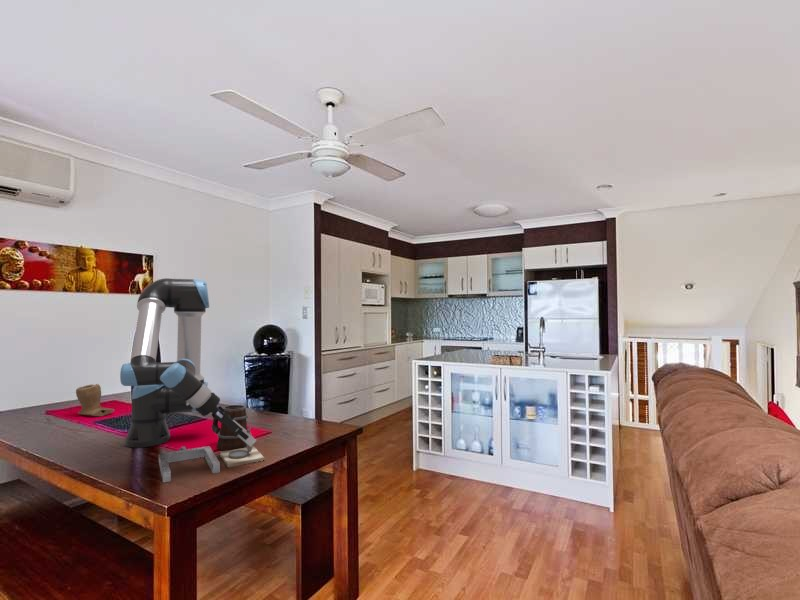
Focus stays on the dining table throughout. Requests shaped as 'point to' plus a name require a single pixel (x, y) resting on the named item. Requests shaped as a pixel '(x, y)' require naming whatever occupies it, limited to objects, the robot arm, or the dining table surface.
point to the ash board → (250, 458)
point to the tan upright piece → (91, 401)
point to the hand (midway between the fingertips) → (248, 438)
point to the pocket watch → (241, 452)
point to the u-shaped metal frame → (186, 455)
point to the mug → (225, 434)
